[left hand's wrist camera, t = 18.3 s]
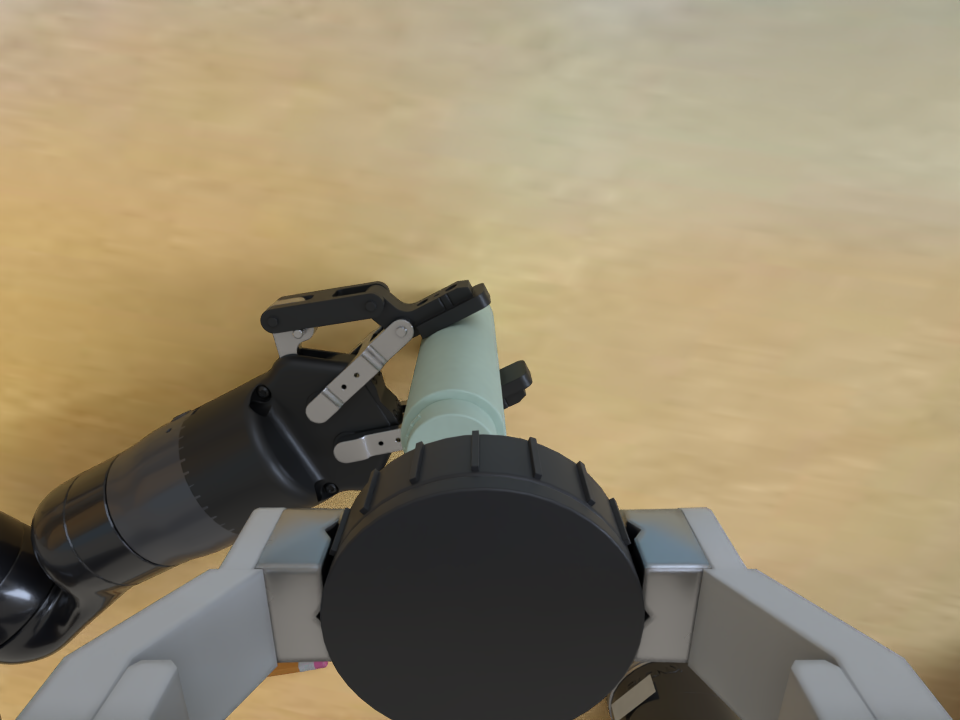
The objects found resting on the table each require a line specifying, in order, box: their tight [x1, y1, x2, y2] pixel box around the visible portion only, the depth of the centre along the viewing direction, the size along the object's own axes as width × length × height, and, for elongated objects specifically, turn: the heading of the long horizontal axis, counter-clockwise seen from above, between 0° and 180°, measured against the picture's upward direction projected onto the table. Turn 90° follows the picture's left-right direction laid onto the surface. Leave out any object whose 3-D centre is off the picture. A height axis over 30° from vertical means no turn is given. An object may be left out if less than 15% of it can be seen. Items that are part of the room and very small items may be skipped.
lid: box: [320, 430, 645, 720], centre depth 10 cm, size 5×5×2 cm
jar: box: [400, 305, 506, 454], centre depth 30 cm, size 4×4×16 cm
